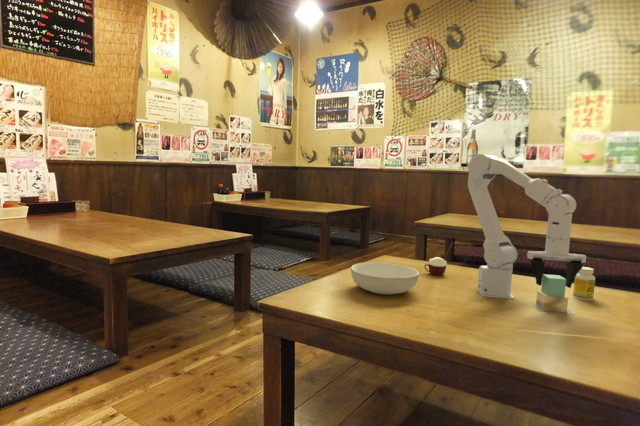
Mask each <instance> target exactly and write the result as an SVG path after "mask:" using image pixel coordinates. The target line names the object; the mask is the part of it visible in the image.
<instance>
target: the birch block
mask: <svg viewBox="0 0 640 426" xmlns="http://www.w3.org/2000/svg"><path fill="white" fill-rule="evenodd" d="M535 302H536V304H537V305H538V306H539V307H541V308H542V309H543V310H547V311H559V312H567V309H568V305H569V304H568V303H569V297H567V296H566V295H565V297H556V296H547V295H545V294H544V293H543V292H542V291H541V289H539V290H538V289H537V290H536V301H535Z"/></svg>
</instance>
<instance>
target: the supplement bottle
mask: <svg viewBox="0 0 640 426" xmlns="http://www.w3.org/2000/svg"><path fill="white" fill-rule="evenodd" d="M594 270H595V269H594V268H591V267H586V266H583V267H582V268H581V270H580V271H579V272H578V273H577V275H576V277H575V278H574V280H573V293H572V297H574V299H575V298H576V299H579V300H583V301H592V300H593V299H594V294H595V286H596V277H595V275H593V274H594Z"/></svg>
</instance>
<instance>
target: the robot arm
mask: <svg viewBox="0 0 640 426" xmlns="http://www.w3.org/2000/svg"><path fill="white" fill-rule="evenodd" d="M466 167H467V169H468V177H467V189H468V190H469V195H470V196H471V200H472V203H473V206H474V209H475V212H476V214H477V218H478V220H479V223H480V227H481V228H482V231H483V235H484V238H485V240H484V242H483V249H484V254H483V258H484V261H485V262H486V265H480V266H479V267H478V268H479V269H478V275H477V288H476V290H477V291H478V294H479V295H480V296H481V297H485V298H486V297H488V298H489V297H490V298H500V299H511V300H513V299H515V296H514V295H513V294H512V292H511V289H512V279H513V269H514V263H515V262H516V260H517V259H518V255H519V254H518V253H519V252H518V250H517V248H516V247H515V246H514V244H512V242H511V240H510V238H509V237H508V236H507V235H506V234H504V231H503V228H502V225H501V222H500V220H499V218H498V217H499V216H498V214H497V211H496V208H495V206H494V203H493V200H492V198H491V194H490V192H489V189H488V186H489V184H490V182H491V181H492V180H493V179H494V178H495V177H496V176H497V175H502V176H503V177H505V178H507V179H509V180H510V181H511V182H513V183H515V184H517V185H518V186H521V187H522V188H523V189H524V193H525V195H526V196H528V197H529V198H531V199H532V200H533V201H535V202H537V203H538V204H540V206H542V207H544V208H545V209H546V211H547V214H548V218H547V219H548V221H547V226H546V227H547V228H546V238H545V248H544V250H541V251H540V250H539V251H538V250H537V251H535V250H528V251H527V254H526V258H527V259H529V262H530V263H531V266H532V268H533V273H534V276H535V277H534V278H535V284H537V286H542V276H543V274H544V273H543V271H544V268H545V262H544V260H549V261H561V262H565V267H566V270H565V271H566V272H565V279H566V287H567V288H569V289H571V288H572V286H573V285H572V284H574V281H575V277H576V275H577V273H579V271H580V270H581V268H582V267H584V264H583V263H585V264H586V262H587V255H585V254H582V253H581V254H579V253H570V241H571V232H572V221H573V218H572V217H573V213H574V212H575V211H576V208H577V206H578V205H577V201H576V200H575V198H574V197H573V196H572V195H571V194H568V193H563V190H562V189H560V188H555V187H554V186H552V185H550V184H549V183H548V182H549V181H548V180H547V179H545V178H531V177H530V176H528V175H527V174H526V173H524V172H523V171H521V170H520V169H519V168H517V167H515V165H513V164H511V163H510V162H509V161H507V160H506V159H503V158H501V157H499V156H498V155H495V154H483V153H477V154H475V155H474V156H472V158H471V159H470V160H469V162H468V164H467V166H466Z"/></svg>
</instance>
